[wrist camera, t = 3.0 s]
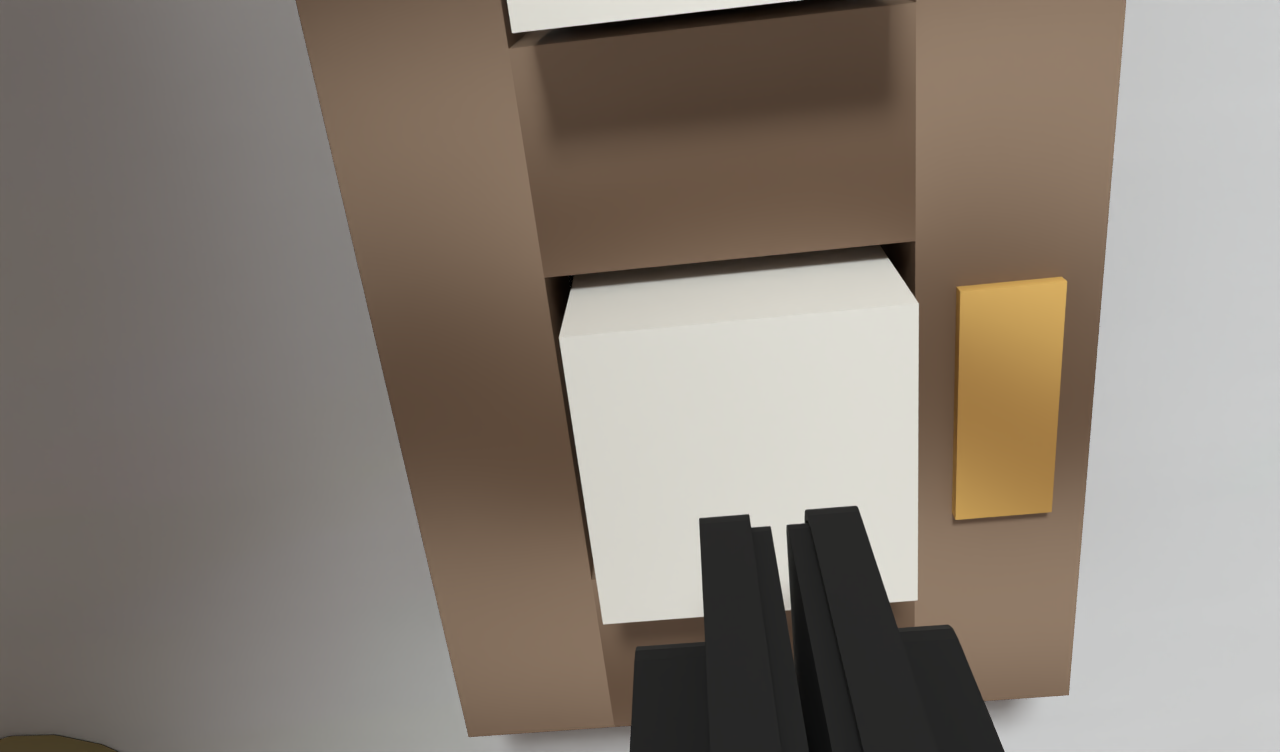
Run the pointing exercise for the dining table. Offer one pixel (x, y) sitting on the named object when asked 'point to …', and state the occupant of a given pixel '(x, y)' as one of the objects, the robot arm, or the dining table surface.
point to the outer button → (740, 414)
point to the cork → (49, 744)
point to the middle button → (606, 11)
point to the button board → (721, 230)
